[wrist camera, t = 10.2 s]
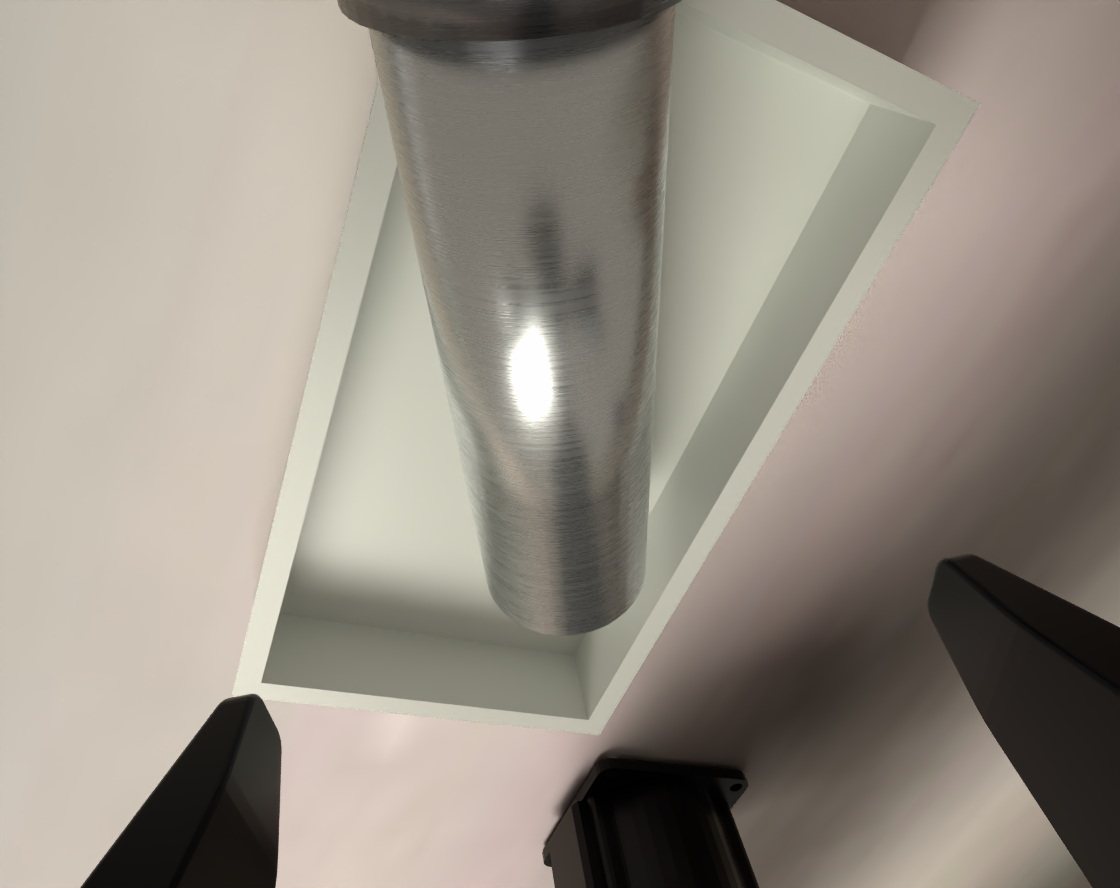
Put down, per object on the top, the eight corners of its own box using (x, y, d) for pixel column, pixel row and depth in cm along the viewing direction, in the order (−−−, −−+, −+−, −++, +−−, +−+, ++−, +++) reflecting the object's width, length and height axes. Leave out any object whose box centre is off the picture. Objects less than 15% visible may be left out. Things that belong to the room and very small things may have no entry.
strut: (670, 508, 20) (726, -172, 10) (640, 665, 17) (681, -97, 7) (504, 483, 21) (402, -161, 11) (447, 627, 18) (231, -92, 8)
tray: (893, 81, 16) (981, 103, 14) (580, 656, 24) (599, 735, 22) (433, -145, 13) (437, -171, 10) (252, 609, 21) (231, 696, 19)
